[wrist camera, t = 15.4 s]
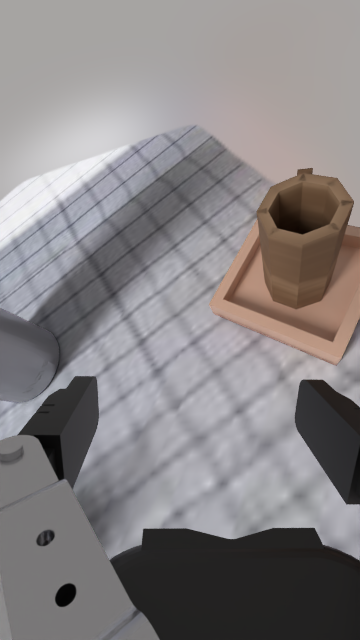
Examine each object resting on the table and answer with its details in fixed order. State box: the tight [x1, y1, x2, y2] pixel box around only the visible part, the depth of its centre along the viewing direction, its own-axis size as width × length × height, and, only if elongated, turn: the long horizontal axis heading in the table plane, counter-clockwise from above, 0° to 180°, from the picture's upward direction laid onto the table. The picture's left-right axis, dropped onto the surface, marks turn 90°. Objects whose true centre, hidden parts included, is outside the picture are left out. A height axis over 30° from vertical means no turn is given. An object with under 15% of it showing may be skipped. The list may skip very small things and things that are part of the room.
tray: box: [209, 220, 360, 365], centre depth 27 cm, size 12×12×2 cm
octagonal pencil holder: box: [257, 168, 354, 309], centre depth 23 cm, size 5×7×10 cm
